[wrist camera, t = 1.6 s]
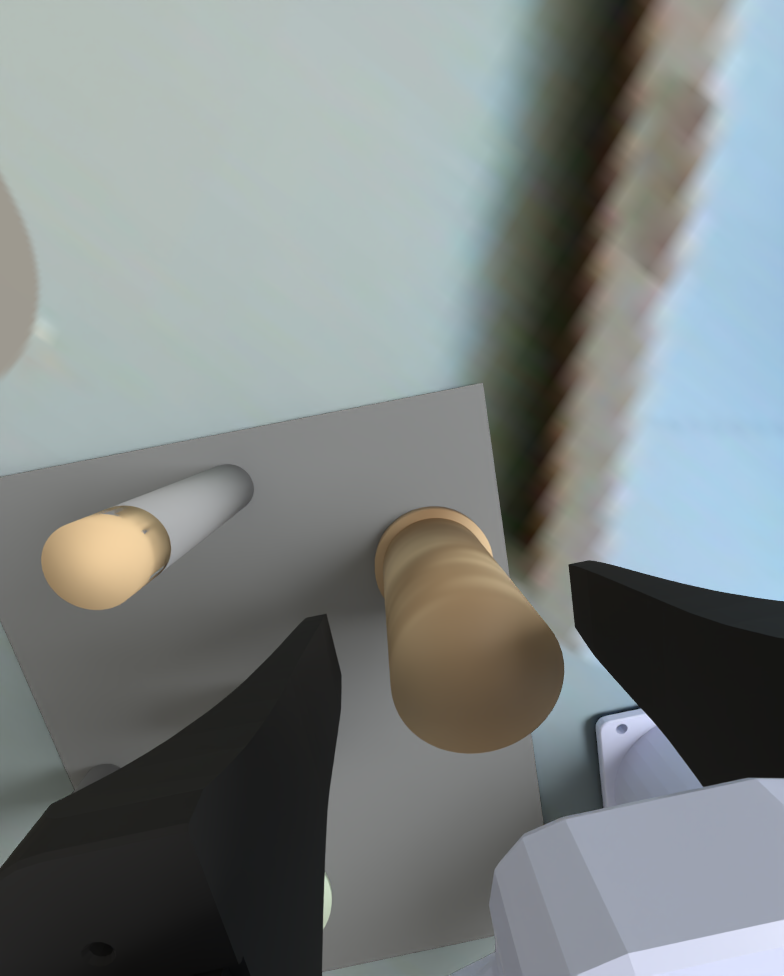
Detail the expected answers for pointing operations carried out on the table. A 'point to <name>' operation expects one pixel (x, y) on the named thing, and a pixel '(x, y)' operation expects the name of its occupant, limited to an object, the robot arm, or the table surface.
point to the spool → (462, 637)
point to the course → (272, 634)
